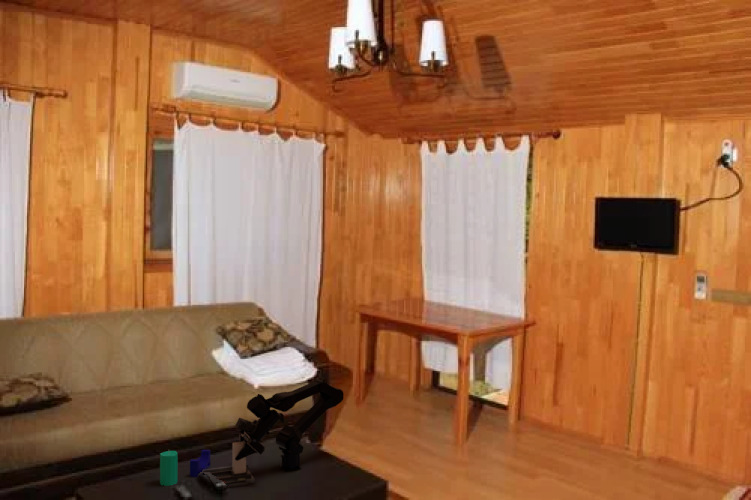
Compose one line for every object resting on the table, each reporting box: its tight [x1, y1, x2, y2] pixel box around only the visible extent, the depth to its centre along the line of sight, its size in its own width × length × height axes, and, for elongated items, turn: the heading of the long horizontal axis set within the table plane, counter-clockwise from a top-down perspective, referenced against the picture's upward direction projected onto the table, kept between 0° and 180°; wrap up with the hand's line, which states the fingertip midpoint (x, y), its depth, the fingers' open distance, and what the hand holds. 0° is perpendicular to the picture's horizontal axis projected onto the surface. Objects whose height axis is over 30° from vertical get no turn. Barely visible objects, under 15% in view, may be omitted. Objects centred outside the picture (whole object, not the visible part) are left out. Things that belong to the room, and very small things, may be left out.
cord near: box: [228, 482, 249, 488], centre depth 235 cm, size 7×1×1 cm, turn 114°
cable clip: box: [189, 449, 211, 478], centre depth 249 cm, size 12×4×6 cm, turn 172°
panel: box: [210, 467, 255, 487], centre depth 241 cm, size 14×12×2 cm
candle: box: [159, 450, 179, 487], centre depth 237 cm, size 6×6×12 cm
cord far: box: [202, 464, 249, 472], centre depth 249 cm, size 17×3×1 cm, turn 114°
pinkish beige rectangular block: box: [231, 441, 247, 476], centre depth 242 cm, size 5×4×11 cm
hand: (234, 457), depth 242 cm, fingers closed on pinkish beige rectangular block, 4 cm apart
